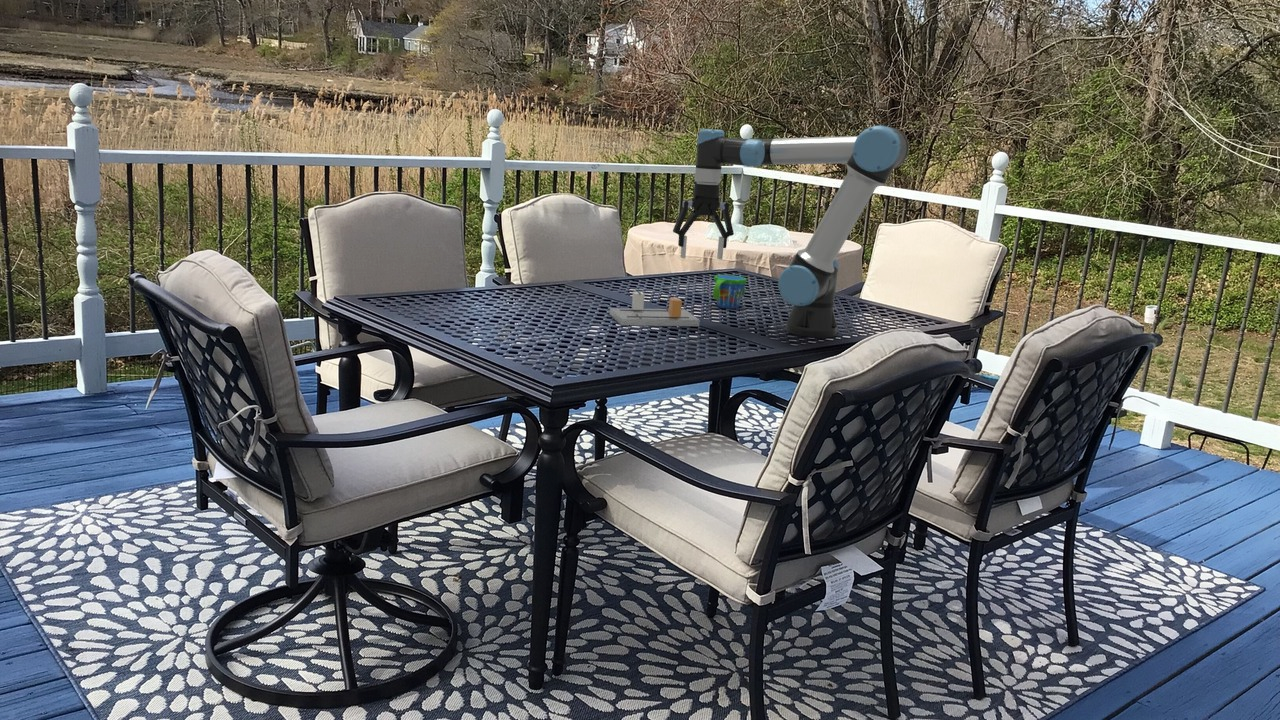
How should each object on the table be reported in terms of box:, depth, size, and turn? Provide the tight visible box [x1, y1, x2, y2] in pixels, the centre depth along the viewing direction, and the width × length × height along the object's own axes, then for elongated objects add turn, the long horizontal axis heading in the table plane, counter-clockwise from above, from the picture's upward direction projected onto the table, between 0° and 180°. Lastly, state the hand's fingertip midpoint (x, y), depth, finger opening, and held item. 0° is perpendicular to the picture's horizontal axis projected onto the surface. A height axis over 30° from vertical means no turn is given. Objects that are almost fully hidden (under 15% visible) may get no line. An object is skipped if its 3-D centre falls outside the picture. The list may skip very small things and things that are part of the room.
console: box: [609, 307, 701, 327], centre depth 297 cm, size 17×24×2 cm
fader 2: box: [668, 296, 683, 317], centre depth 293 cm, size 4×3×5 cm
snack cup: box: [712, 274, 748, 310], centre depth 326 cm, size 16×10×10 cm
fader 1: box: [631, 290, 645, 310], centre depth 300 cm, size 4×3×5 cm
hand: (701, 258), depth 291 cm, fingers open, 11 cm apart
